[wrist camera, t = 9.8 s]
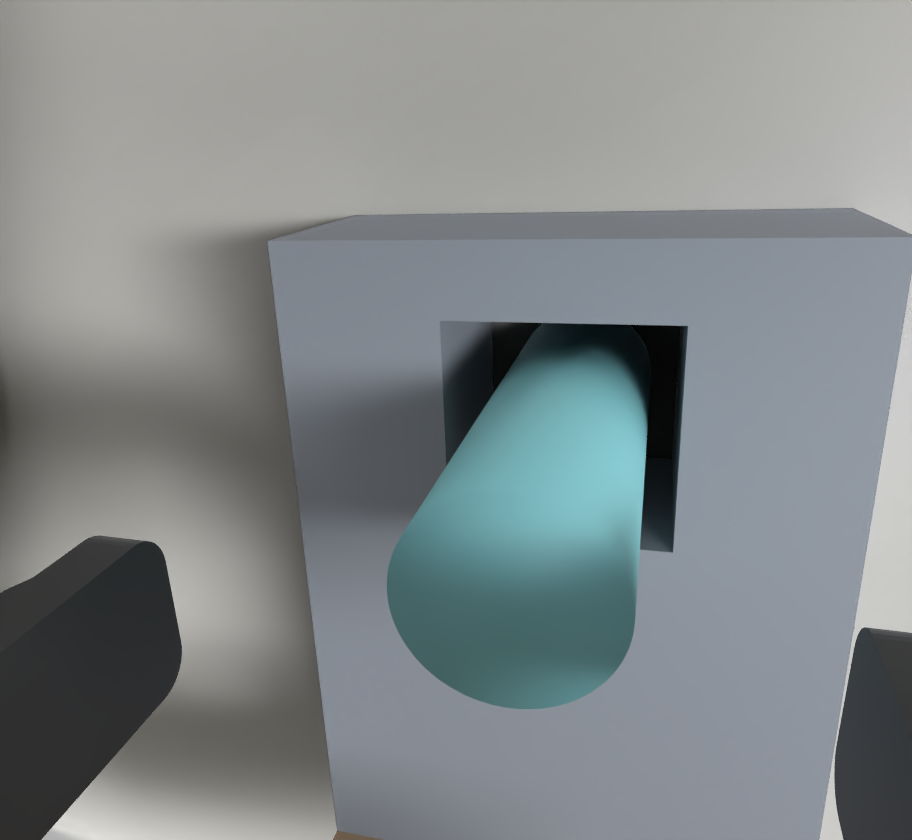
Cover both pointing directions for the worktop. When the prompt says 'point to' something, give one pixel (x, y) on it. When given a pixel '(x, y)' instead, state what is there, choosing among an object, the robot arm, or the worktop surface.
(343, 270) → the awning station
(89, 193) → the worktop surface
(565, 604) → the peg
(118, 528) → the worktop surface
